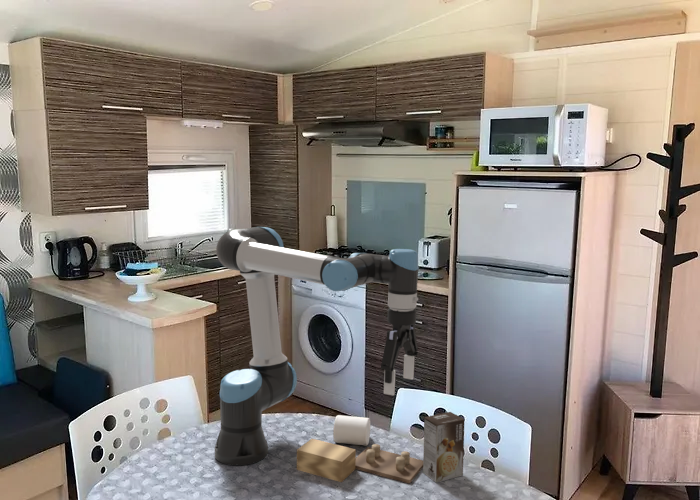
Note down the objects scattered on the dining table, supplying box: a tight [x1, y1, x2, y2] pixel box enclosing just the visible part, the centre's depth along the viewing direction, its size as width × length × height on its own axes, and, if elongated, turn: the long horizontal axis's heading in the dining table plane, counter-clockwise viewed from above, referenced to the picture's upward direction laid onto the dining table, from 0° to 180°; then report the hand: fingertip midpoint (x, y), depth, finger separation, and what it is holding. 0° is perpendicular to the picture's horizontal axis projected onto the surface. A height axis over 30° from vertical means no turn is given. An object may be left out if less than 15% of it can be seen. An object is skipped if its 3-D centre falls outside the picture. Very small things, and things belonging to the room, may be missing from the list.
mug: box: [332, 414, 371, 447], centre depth 179 cm, size 12×10×8 cm
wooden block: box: [296, 438, 357, 483], centre depth 160 cm, size 14×8×6 cm, turn 63°
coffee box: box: [422, 411, 465, 484], centre depth 158 cm, size 9×6×16 cm
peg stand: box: [355, 443, 423, 485], centre depth 163 cm, size 18×12×4 cm, turn 62°
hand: (399, 386), depth 156 cm, fingers open, 13 cm apart
